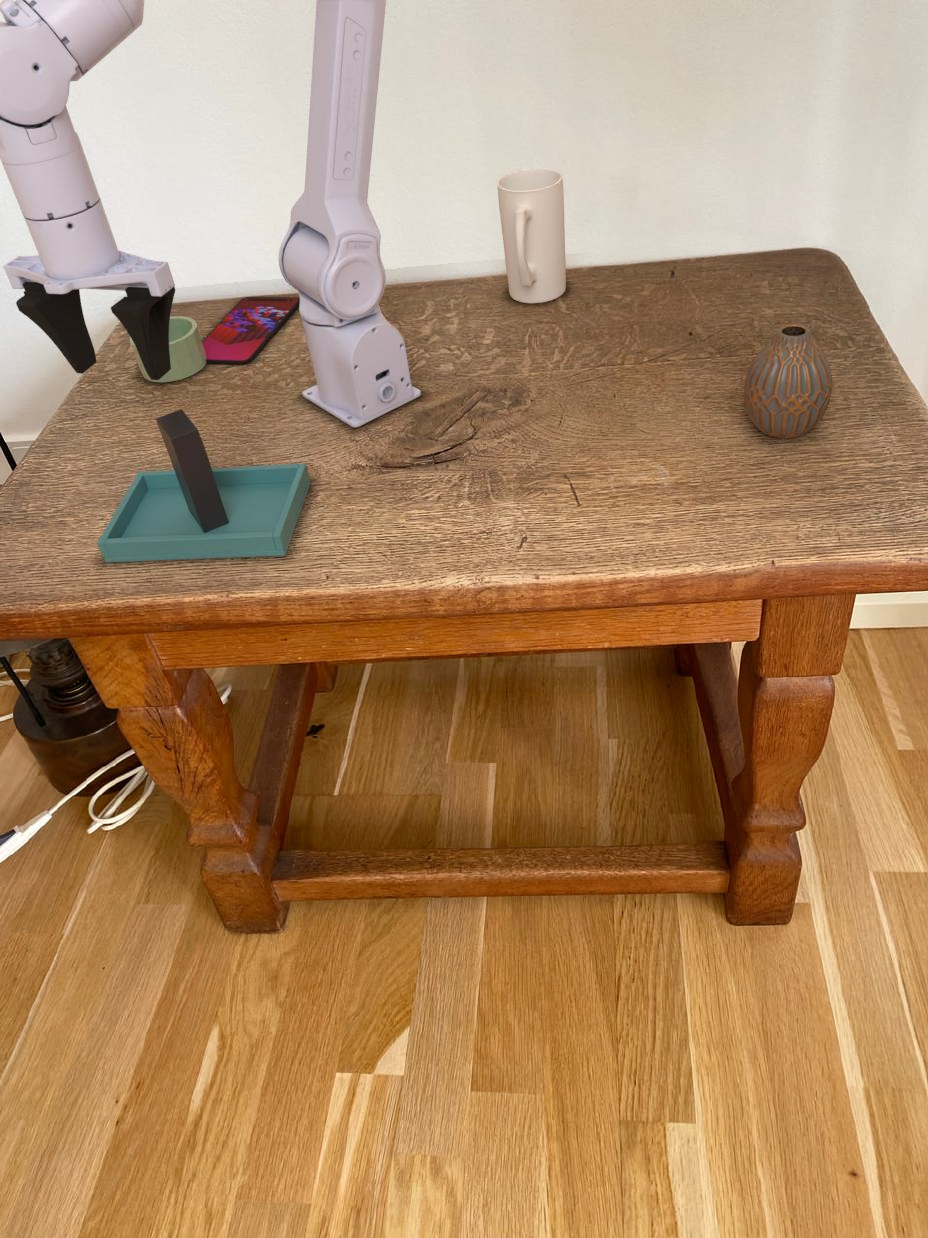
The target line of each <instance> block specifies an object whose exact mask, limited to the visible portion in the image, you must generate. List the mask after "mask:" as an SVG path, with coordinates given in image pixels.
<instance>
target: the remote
mask: <svg viewBox="0 0 928 1238" xmlns="http://www.w3.org/2000/svg"><path fill="white" fill-rule="evenodd" d="M155 422H156V424H157V427H158V430H159V433H160V435H161V436H162V437H161V438H162V440H163V443H164V445H165V448H166V449H165V450H166V452H167V454H168V457H169V459H170V462H171V465H172V468H173V470H174V471H175V473H176V476H177V479H178V482H179V484H180V487H181V490H182V493H183V495H184V498H185V501H186V504H187V506H188V509H189V511H190V513H191V514H192V516H193V517H194V519H195V520H196V522H197V523H198V524H199V526H200V527H201V529H202V530H203V532H204V533H206V532H209V531H211V530H213V529H216V528H218V527H221V526H223V525H226V524H228V523H229V521H228V518H227V515H226V512H225V509H224V506H223V503H222V500H221V497H220V494H219V491H218V488H217V483H216V480H215V477H214V474H213V471H212V468H213V467H212V464H211V462H210V458H209V456H208V452H207V450H206V447H205V444H204V441H203V438H202V437H201V435H200V431H199V429H198V427H196V425H195V424H194V422H193V421H192V420H191V419H190V418H189V416H188V415H187V414H186V413H185V411H184V410H183V409H178V410H175V411H173V412H170V413H167V414H164V415H162V416H159V417H157V418H155Z"/></svg>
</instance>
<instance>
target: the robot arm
mask: <svg viewBox="0 0 928 1238" xmlns="http://www.w3.org/2000/svg"><path fill="white" fill-rule="evenodd" d="M386 7H387V0H316V3H315V17H314V18H315V21H314V34H313V35H314V37H313V50H312V51H313V52H312V64H311V81H310V82H311V83H310V96H309V97H310V98H309V111H308V112H309V113H308V129H307V132H308V133H307V145H306V158H305V159H306V161H305V176H304V177H305V179H304V190H303V193H302V194H301V195H300V197H299V198H298V199H297V200H296V201H295V202H294V204H293V205H292V207H291V209H290V220H289V226H288V229H287V232H286V234H285V236H284V238H283V240H282V242H281V244H280V247H279V251H278V266H279V270H280V271H279V272H280V273H281V276H282V277H283V279H284V280H285V282H286V283H287V284H288V285H289V286H291V287H292V288H293V289H295V290H297V293H298V298H299V299H300V304H299V308H298V310H299V314H300V319H301V323H302V326H303V331H304V336H305V339H306V344H307V348H308V352H309V356H310V361H311V365H312V369H313V373H314V378H315V383H316V384H315V385H312V386H311V387H308V388H307V389H304V390H303V391H302V392H301V394H302V397H303V398H304V399H306V400H307V401H310V402H311V403H313V404H315V405H316V406H317V407H319V408H321V409H322V410H324V411H325V412H327V413H329V414H330V415H332V416H334V417H336V418H337V419H338V420H340V421H342V422H343V423H345V424H347V425H349V426H350V427H352V428H356V429H357V428H359V427H361V426H363V425H366V424H367V423H369V422H371V421H373V420H375V419H377V418H379V417H381V416H384V415H385V414H387V413H389V412H391V411H393V410H395V409H397V408H399V407H402V406H403V405H406V404H407V403H409V402H411V401H413V400H415V399H417V398H419V397H421V395H422V391H421V389H419V388H417V387H415V386H414V385H412V384H413V383H412V378H411V373H410V367H409V361H408V354H407V349H406V342H405V340H404V338H403V337H404V336H403V335H402V333H401V332H400V331H399V329H398V328H396V326H394V325H392V324H391V323H390V322H389V321H388V320H387V318H385V315H384V314H383V312H382V310H381V307H380V304H379V303H380V302H381V300H382V298H383V297H384V296H383V295H384V293H385V289H386V284H387V283H386V282H387V279H386V277H387V275H386V270H385V267H384V264H383V261H382V257H381V240H382V239H381V238H382V236H381V235H382V234H381V232H380V228H379V226H378V225H377V222H376V220H375V217H374V215H373V213H372V211H371V209H370V206H369V203H368V197H369V186H370V176H371V165H372V155H373V154H372V153H373V143H374V133H375V121H376V111H377V100H378V93H379V91H378V90H379V82H380V81H379V80H380V71H381V60H382V58H381V57H382V49H383V38H384V26H385V18H386ZM144 10H145V0H15V1H14V0H1V2H0V13H1V14H2V17H3V19H4V21H0V162H1V164H2V166H3V169H4V171H5V174H6V176H7V178H8V179H7V180H8V182H9V184H10V186H11V189H12V192H13V194H14V197H15V199H16V201H17V204H18V206H19V209H20V211H21V214H22V216H23V219H24V221H25V223H26V226H27V228H28V232H29V233H30V236H31V238H32V241H33V244H34V247H35V248H36V251H37V253H38V254H36V255H18V256H15V258H13V259H12V260H10V261H8V262H7V263H5V264H4V265H3V266H2V267H3V269H4V272H5V274H6V277H7V279H8V281H9V283H10V286H11V288H12V289H13V290H24V291H23V296H21V297H19V298H18V299H17V300H16V302H15V305H16V307H17V309H18V311H19V312H20V313H21V314H23V315H24V316H25V317H27V318H28V319H29V320H30V321H32V322H33V323H34V324H35V325H36V326H37V327H39V329H41V330H42V331H43V333H45V335H46V336H48V338H49V339H50V340H51V342H52V343H53V344H54V345H55V347H57V349H58V350H59V351H60V353H61V354H62V355H63V357H64V358H65V359H66V361H67V363H68V364H69V365H70V366H71V368H72V369H73V370H74V371H75V373H76V374H81V375H82V374H84V373H86V372H87V371H88V370H89V369H90V368H91V367H93V366H94V365H95V364H97V356H96V351H95V347H94V344H93V341H92V338H91V336H90V333H89V329H88V327H87V323H86V321H85V320H86V319H85V315H84V312H83V306H82V301H81V293H80V291H81V290H101V291H102V290H103V291H120V292H121V291H123V292H125V295H126V296H124V297H122V298H121V299H120V300H118V301H117V302H115V303H114V304H113V305H111V306H110V310H111V313H112V314H113V315H114V317H116V319H117V320H118V321H119V322H120V323H121V325H122V326H123V327H124V329H125V330H126V332H127V334H128V335H129V338H130V337H131V339H132V340H133V342H134V344H135V346H136V348H137V351H138V353H139V356H140V358H141V361H142V363H143V365H144V368H145V370H146V372H147V374H148V375H149V377H150V378H151V380H159V379H160V378H162V377H163V376H164V375H165V374H166V373H167V372H168V371H169V370H171V364H170V352H169V321H170V317H171V313H172V306H173V302H174V298H175V294H176V287H175V286H176V284H175V281H174V278H173V274H172V271H171V267H170V265H169V262H168V261H161V260H159V261H158V260H153V259H149V258H145V257H142V256H138V255H135V254H132V253H128V252H125V251H122V250H119V248H118V244H117V243H116V240H115V237H114V234H113V231H112V228H111V225H110V222H109V219H108V217H107V214H106V211H105V207H104V205H103V202H102V199H101V197H100V194H99V191H98V188H97V186H96V182H95V179H94V177H93V174H92V171H91V168H90V166H89V163H88V160H87V157H86V154H85V152H84V151H85V150H84V148H83V145H82V143H81V140H80V137H79V134H78V132H77V131H76V130H75V127H74V125H73V122H72V120H71V119H72V118H71V117H70V113H69V111H68V110H69V109H68V108H67V103H68V99H69V97H70V85H71V82H78V81H80V79H82V77H84V76H85V75H86V74H87V73H88V72H89V71H91V70H92V69H93V68H94V67H96V65H97V64H99V63H100V62H101V61H102V60H103V59H104V58H105V57H107V56H108V55H109V54H110V53H111V52H113V51H114V49H116V48H117V47H118V46H119V45H120V44H122V43H123V42H124V41H125V40H126V39H127V38H129V37H130V36H131V35H132V34H133V33H134V32H135V31H137V29H139V28H140V27H141V26H142V25H143V22H144Z"/></svg>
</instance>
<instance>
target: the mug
mask: <svg viewBox="0 0 928 1238" xmlns="http://www.w3.org/2000/svg"><path fill="white" fill-rule="evenodd" d="M563 175H564V174H563V173H562V172H561V171H559V170H558V169H553V168H550V167H549V168H548V167H528V168H523V169H522V168H521V169H517V170H514V171H510V172H508V173H506V174H504V175H502V176H500V177H499V178H498V180H497V182H496V186H497V197H498V199H497V200H498V207H499V208H498V209H499V216H500V217H499V218H500V225H501V234H502V235H501V236H502V243H503V244H502V245H503V250H504V251H503V252H504V253H503V254H504V260H505V262H504V263H505V268H506V269H505V270H506V276H507V285H508V293H509V296H510V297H511V298H512V299H513V300H515V301H516V302H519V303H523V304H543V303H547V302H549V301H554V300H556V299H558V298H560V297H561V296H562V295H563V294H564V293H565V292H566V288H567V279H566V278H567V275H566V274H567V265H566V261H567V260H566V234H565V233H566V232H565V229H566V228H565V198H564V197H565V196H564V194H565V193H564V192H565V191H564V178H563V177H564V176H563Z"/></svg>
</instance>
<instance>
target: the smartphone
mask: <svg viewBox="0 0 928 1238" xmlns="http://www.w3.org/2000/svg"><path fill="white" fill-rule="evenodd" d="M299 304H300V298H299V297H298V296H297V297H296V296H246V297H244V298H241V299H240V301H238V303H237V304H236V305H235V306H234V307H233V308H232V309H231V310H230V311H229V312H228V313H227V314H226V315H225V316H224V317H223V318H222V319H221V321H219V323H218V324H217V325H216V326H215V327H214V328H213V329H212V330H211V331H210V333H208V335H206V337H204V339H202V342H203V345H204V348H205V352H206V356H207V358H206V365H207V364H208V365H209V364H210V365H235V366H236V365H237V366H244V365H248V364H250V363H252V362H253V361H254V360H255V359H256V358H257V357H258V356H259V354H260V353H261V352H262V351H263V350H264V348H266V346H267V345H268V344H269V343H270V341H272V339H274V337H275V336H276V335H277V333H278V332H279V331H280V330H281V329H282V328H283V327H284V326H285V324H286V323H287V322H288V321H289V320H290V318H291V317H292V316H293V315H294V314H295V313H296V312H297V311H298V310H299Z"/></svg>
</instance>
